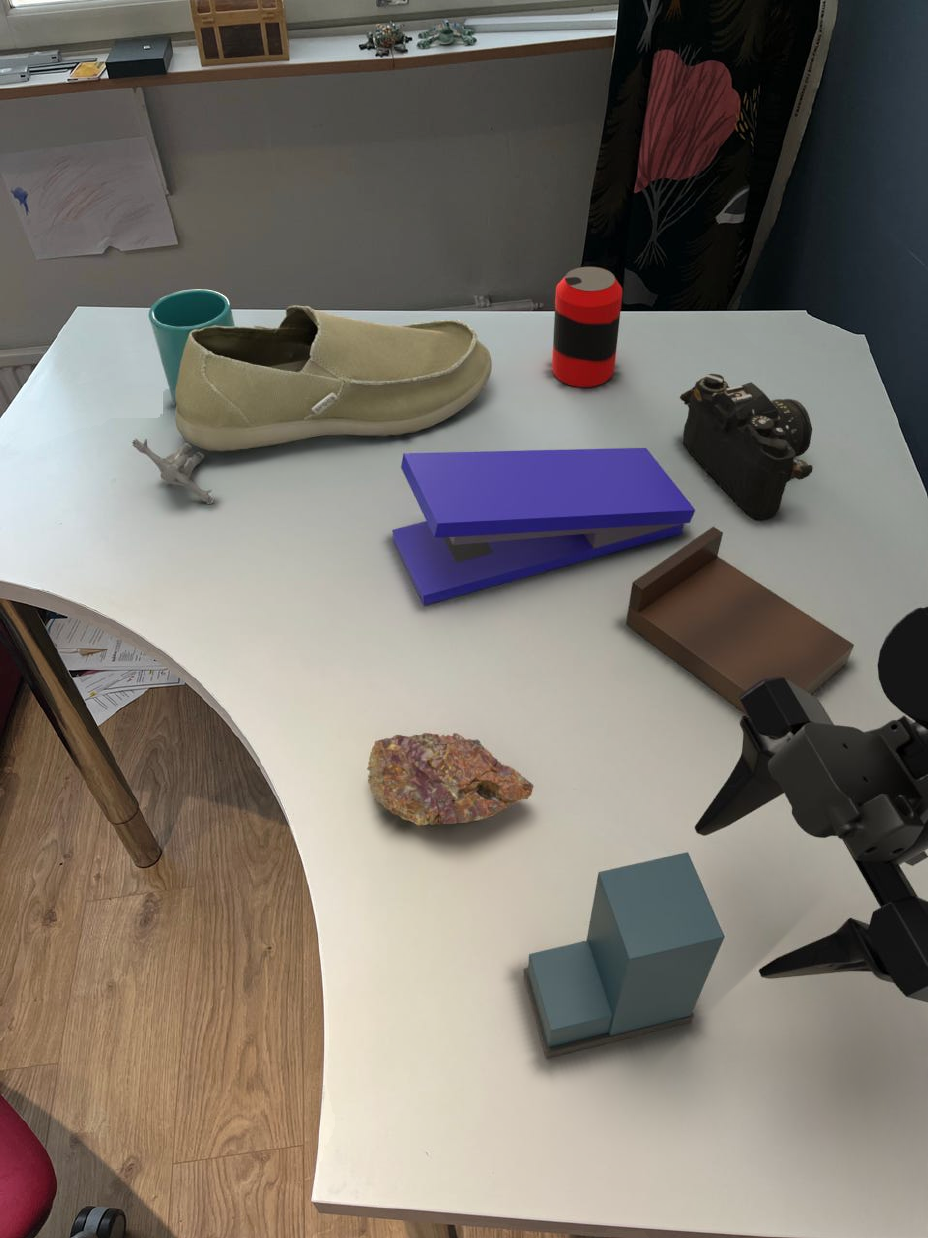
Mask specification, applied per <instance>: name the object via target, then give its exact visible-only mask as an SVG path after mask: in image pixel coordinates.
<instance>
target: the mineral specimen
mask: <svg viewBox="0 0 928 1238" xmlns="http://www.w3.org/2000/svg"><path fill="white" fill-rule="evenodd" d="M369 754H370V755H369V758H368V765H367V768H366V770H367V771H369V774H368V776H367V777H368V779H367V782H368V784H369V786H370V792H371V794H373V798H374V801H375V802H376V803H377V804H381V805H382V807H384V809H386V810H388V811H389V812H390V813H391V814H392V815H395V816H397V817H399V818H400V819H401V820H403V821H409V822H411V823H413V824H415V825H416V826H419V827H421V826H427V825H431V826H433V825H443V824H444V825H445V824H446V825H451V824H463V823H465V824H466V823H470V822H473V821H482V820H485V819H488V818H490V817H492V816H495V815H497V814H498V813H501V811H502V810H505V809H507V808H508V807H509V805H512V804H517V803H518V802H519V801H521V800H528V799H529V798H530V797H531V796H532V794H533V790H534V784H532V783H531V781H529V780H528V779H526V777H524V776H522V775H521V773H520V772H519V771H518V770H516V769H515V768H513V767H511V766H510V765H509V766H508V765H505V764H503V763H502V762H500V761H498V759H497V758H496V757H494V755H493V754H492V753H491V752H490V751H489V750H488V749H487V748H485V747H484V746H483V744H482V743H481V741H480V740H479V739H471V738H470V739H467V738H465V737H463V735H461V734H459V733H456V732H454V733H452V735H449V734H447V735H445V734H442V735H441V736H440V735H439V734H437V733H431V732H429V733H428V732H423V733H422V734H413V735H411V736H407V735H402V734H395V735H393V736H392V737H385V738H381V739H378V740H375V741H374V745H373V746H372V748H371V751H370V753H369ZM479 790H481V791H482V792H483V794H485V795H486V796H487V798H485V797H483V796H481V795H480V794H479V793H478V792H477V791H479Z"/></svg>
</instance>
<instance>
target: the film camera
mask: <svg viewBox="0 0 928 1238" xmlns="http://www.w3.org/2000/svg"><path fill="white" fill-rule="evenodd" d="M679 399H680V400H681V401H682V402H683V405H685V406H687V408H688V412H687V418H686V420H685V423H684V427H683V432H682V434H683V435H682V444H683V445H686V447H687V450H688V452H689V454H690V455H692V458H693V459H695V460H696V461H697V462H698V463H699V464H700V465H701V467H702V468H703V469H704V470H706V472H707V473H708V474H709V475H710V476H711V477H712V479H713V480H714V481H715V482H716V483H717V484H718V485H719V486H720V487H721V488H722V489H723V490H724V491H725V492H726V493H727V494H728V495H729V496H730V497H731V498H732V500H733V501H734V502H735V503H736V504H737V505H738V506H739V507H740V508H741V509H742V510H743V511H744V512H745V513H746V514H748V515H749V516H750V517H752V518H754V519H755V520H758V521H759V520H768V519H770V518H772V517H775V516H776V515H777V514H778V512H779V510H780V507H781V504H782V500H783V497H784V493H785V490H786V486H787V484H788V482H789V481H792V480H794V479H796V480H798V481H799V480H803V479H805V478H807V477H809V476H811V475H810V474H811V473H812V472H813V465H812V464H808V463H807V461H805V460H803V459H799V458H798V459H795V458H797V457H800V456H802V455H804V454H805V453H807V451H808V450H809V449H810V445H811V440H812V435H813V427H812V423H811V422H812V421H811V418H810V415H809V412H808V409H806V407H805V406H804V405H803V404H802V403H801V402H800V401H799V400H796V399H793V398H785V399H782V398H778V399H772V400H771V399H770V398H769V397H768V396H767V395H766V394H765V392H764V391H763V390H762V389H760V388H759V387H758V386H757V385H756V384H754V383H753V382H748V383H745V384H741V385H736V386H729V383H728V382H727V381H725V378H724V376H723V375H721V374H719V373H709V374H707V375H705V376H704V377H701V378H700V379H699V380H697V381H695V384H694V386H693V387H692V388H690V389H689V390H687V391H685V392H683V393H681V395H680V396H679ZM798 461H799V462H800V463H801V464H802V465H800V464H799V463H798Z"/></svg>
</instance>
